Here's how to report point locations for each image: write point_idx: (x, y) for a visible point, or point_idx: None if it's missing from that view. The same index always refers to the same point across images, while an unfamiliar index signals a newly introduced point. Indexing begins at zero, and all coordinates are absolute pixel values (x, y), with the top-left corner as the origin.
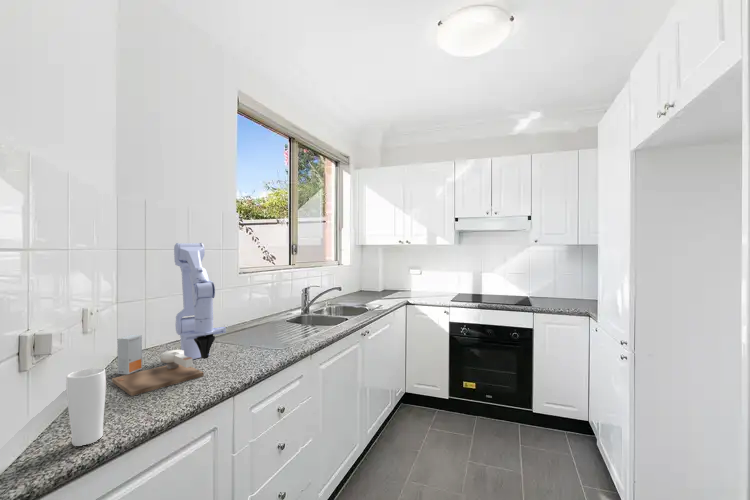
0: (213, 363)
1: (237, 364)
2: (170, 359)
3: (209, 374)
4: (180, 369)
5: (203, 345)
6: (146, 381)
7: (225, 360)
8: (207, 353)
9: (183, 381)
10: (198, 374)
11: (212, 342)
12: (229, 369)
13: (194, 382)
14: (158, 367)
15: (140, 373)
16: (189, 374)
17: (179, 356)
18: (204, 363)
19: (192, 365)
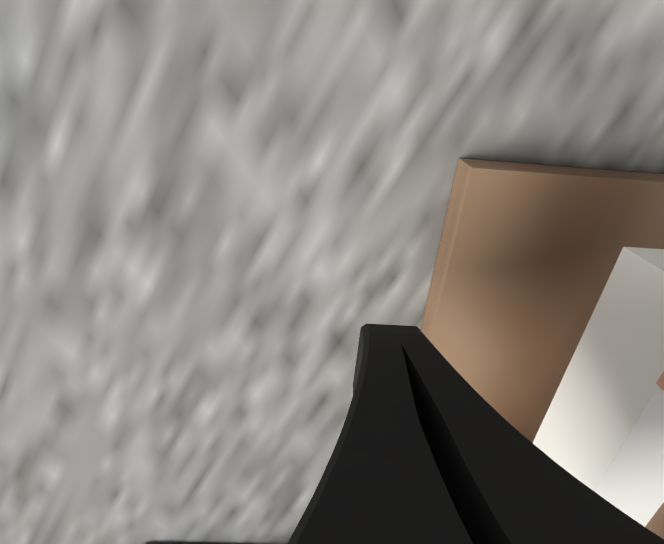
0: (201, 397)
1: (27, 195)
2: None
3: (397, 150)
4: (501, 411)
5: (577, 503)
6: None
7: (88, 390)
8: (393, 358)
9: (657, 174)
10: (525, 170)
11: (316, 527)
12: (168, 109)
13: (652, 37)
14: None
15: (660, 517)
16: (584, 228)
17: (642, 506)
18: (251, 444)
19: (633, 249)
